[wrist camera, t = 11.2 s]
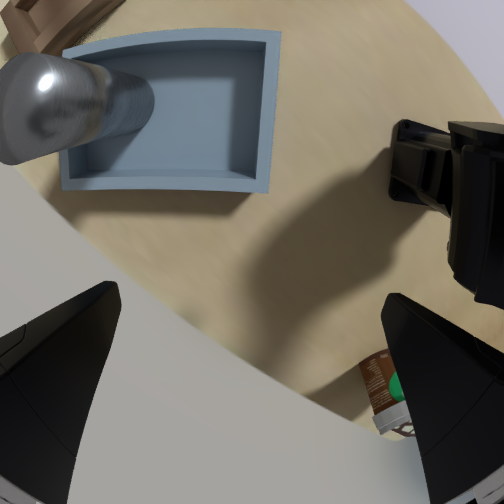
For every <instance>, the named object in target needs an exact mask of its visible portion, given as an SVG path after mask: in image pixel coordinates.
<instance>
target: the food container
mask: <svg viewBox="0 0 504 504" xmlns="http://www.w3.org/2000/svg"><path fill="white" fill-rule="evenodd" d="M359 366H360V369H361V372H362V375H363V378H364V382H365V385H366V388H367V391H368V394H369V398H370V401H371V405H372V408H373V411H374V415H375V416H373V417H372V418H373V421H374V423H375V425H376V427H377V429H378V430H379V432H380V435H382V434H384V433H386V432H388V431H390V430H392V431H395V432H397V433H399V434H401V435H403V436H406V437H410V436H415V432H414V428H413V425H412V421H411V418H410V414H409V411H408V407H407V404H406V401H405V398H404V394H403V391H402V388H401V385H400V382H399V379H398V376H397V373H396V370H395V367H394V364H393V361H392V358H391V355H390V352H389V348H388V349H385V350H382V351H379V352H377V353H375V354H373V355H371V356H369V357H367V358H366V359H364V360H363V361H361V362H360V363H359ZM415 437H416V436H415Z"/></svg>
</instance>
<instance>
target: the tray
mask: <svg viewBox="0 0 504 504" xmlns="http://www.w3.org/2000/svg"><path fill="white" fill-rule="evenodd" d="M280 45H281V32H280V31H270V30H258V29H242V28H191V29H175V30H163V31H154V32H146V33H138V34H132V35H126V36H120V37H114V38H109V39H105V40H100V41H96V42H91V43H87V44H83V45H79V46H76V47H72V48H69V49H65V50H63V54H62V57H64V58H69V59H74V60H78V61H83V62H87V63H92V64H96V65H100V66H104V67H108V68H111V69H115V70H119V71H122V72H126V73H129V74H132V75H136V76H139V77H141V78H143V79H145V80H146V81H147V82H148V83H149V84H150V86H151V87H152V90H153V92H154V97H155V106H154V110H153V113H152V115H151V118H150V119H149V121H148V122H147V123H146V125H145V126H144V127H143V128H141V129H140V130H139V131H137V132H135V133H133V134H129V135H124V136H119V137H114V138H110V139H105V140H101V141H96V142H92V143H88V144H84V145H80V146H76V147H72V148H69V149H65V150H62V151H59V163H60V176H61V187H62V191H72V190H104V189H177V190H211V191H233V192H252V193H267V194H268V191H269V180H270V169H271V157H272V146H273V134H274V122H275V110H276V97H277V84H278V71H279V58H280Z"/></svg>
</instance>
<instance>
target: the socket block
mask: <svg viewBox="0 0 504 504" xmlns="http://www.w3.org/2000/svg"><path fill="white" fill-rule="evenodd" d="M123 1H124V0H10V1H9V2H8V3H7V4H6V6H5V7H4V8H3V9H2V11H1V12H0V15H1V17H2V19H3V21H4V24H5V26H6V28H7V30H8V32H9V34H10V36H11V38H12V40H13V42H14V44H15V46H16V48H17V50H18V52H19V54H21V53H25V52H34V53H41V54H47V55H53V56H59V57H61V56H62V54H63V50H65V49H69V48H70V47H71V46H72V45H73V44H74V43H75V42H76V41H77V40H78V39H79V38H80V37H81V36H82V35H83V34H85V33H86V32H87V31H88V30H89V29H90V28H91V27H92V26H93V25H94V24H96V23H97V22H98V21H99V20H100V19H101V18H103V17H104V16H105V15H106V14H107V13H109V12H110V11H111V10H112V9H114V8H115V7H116V6H117V5H119V4H120V3H121V2H123Z"/></svg>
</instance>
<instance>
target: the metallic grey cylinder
mask: <svg viewBox="0 0 504 504" xmlns="http://www.w3.org/2000/svg"><path fill="white" fill-rule="evenodd" d="M154 106H155V97H154V92H153V90H152V87H151V86H150V84H149V83H148V82H147V81H146V80H145V79H143V78H141V77H139V76H136V75H132V74H129V73H126V72H122V71H119V70H115V69H111V68H108V67H104V66H100V65H96V64H92V63H87V62H83V61H78V60H74V59H69V58H64V57H59V56H53V55H47V54H41V53H34V52H25V53H21V54H19V55H16V56H15V57H13V58H12V59H10V60H9V61H8V62H7V63H6V64H5V65H4V66H3V67H2V68H1V69H0V162H2V163H4V164H7V165H18V164H21V163H24V162H26V161H29V160H32V159H35V158H38V157H42V156H45V155H48V154H51V153H55V152H58V151H62V150H65V149H69V148H72V147H76V146H80V145H84V144H88V143H92V142H96V141H101V140H105V139H110V138H114V137H119V136H124V135H129V134H133V133H135V132H137V131H139V130H140V129H141V128H143V127H144V126H145V125H146V123H147V122H148V121H149V119H150V118H151V115H152V113H153V110H154Z"/></svg>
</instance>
